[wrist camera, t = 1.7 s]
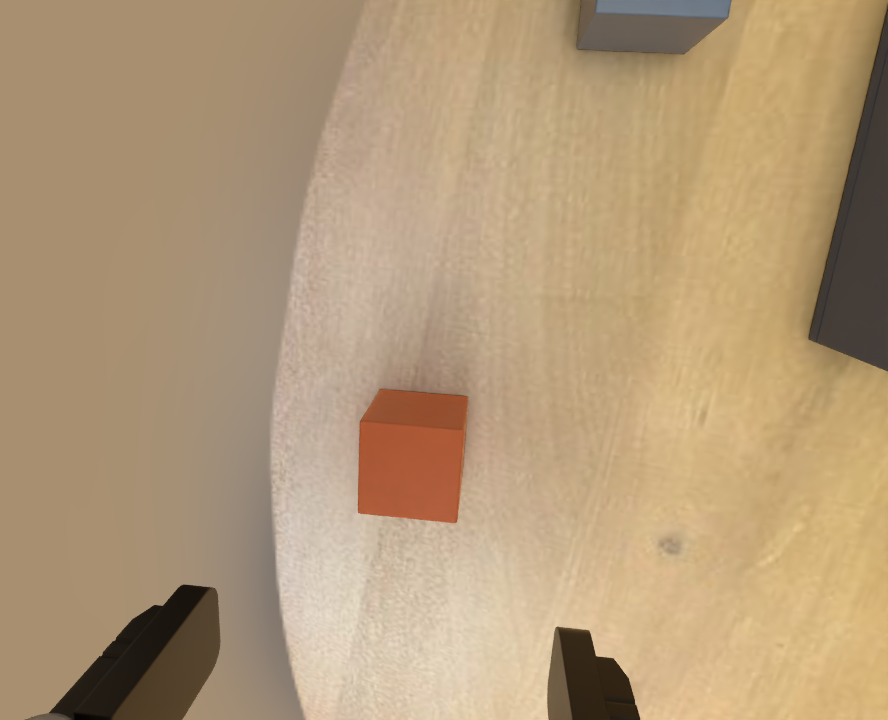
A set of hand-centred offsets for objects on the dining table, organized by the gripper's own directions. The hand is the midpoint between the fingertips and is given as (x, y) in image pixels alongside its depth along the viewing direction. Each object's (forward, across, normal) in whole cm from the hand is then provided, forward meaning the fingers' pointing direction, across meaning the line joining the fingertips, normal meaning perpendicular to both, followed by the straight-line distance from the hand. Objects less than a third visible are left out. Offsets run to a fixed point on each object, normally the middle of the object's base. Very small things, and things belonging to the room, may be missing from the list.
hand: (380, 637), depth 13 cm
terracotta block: (+13, +1, 0) cm, 13 cm away
